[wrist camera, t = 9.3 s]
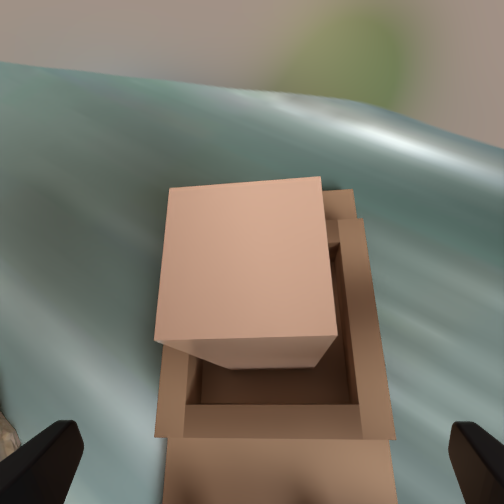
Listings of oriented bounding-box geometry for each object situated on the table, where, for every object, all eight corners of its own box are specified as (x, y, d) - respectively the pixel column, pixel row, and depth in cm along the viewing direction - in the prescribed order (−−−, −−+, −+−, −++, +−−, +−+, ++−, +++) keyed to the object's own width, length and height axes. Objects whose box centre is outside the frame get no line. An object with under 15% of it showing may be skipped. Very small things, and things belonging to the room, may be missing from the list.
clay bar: (313, 368, 16) (338, 335, 7) (231, 370, 17) (153, 340, 7) (307, 288, 18) (320, 176, 9) (232, 292, 18) (169, 188, 9)
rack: (410, 642, 13) (458, 746, 9) (161, 624, 14) (111, 711, 10) (349, 199, 21) (362, 156, 17) (193, 209, 22) (171, 170, 18)
